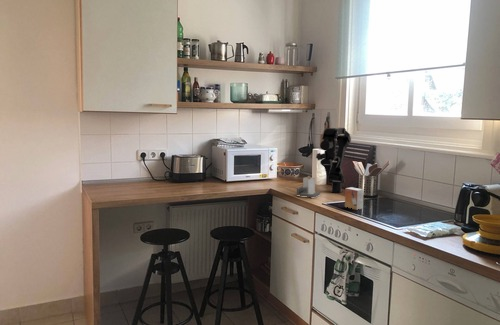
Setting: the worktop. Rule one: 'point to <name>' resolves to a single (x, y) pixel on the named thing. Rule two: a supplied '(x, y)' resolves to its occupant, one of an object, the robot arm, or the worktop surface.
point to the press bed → (300, 192)
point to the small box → (354, 198)
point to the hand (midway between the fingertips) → (330, 174)
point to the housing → (308, 185)
